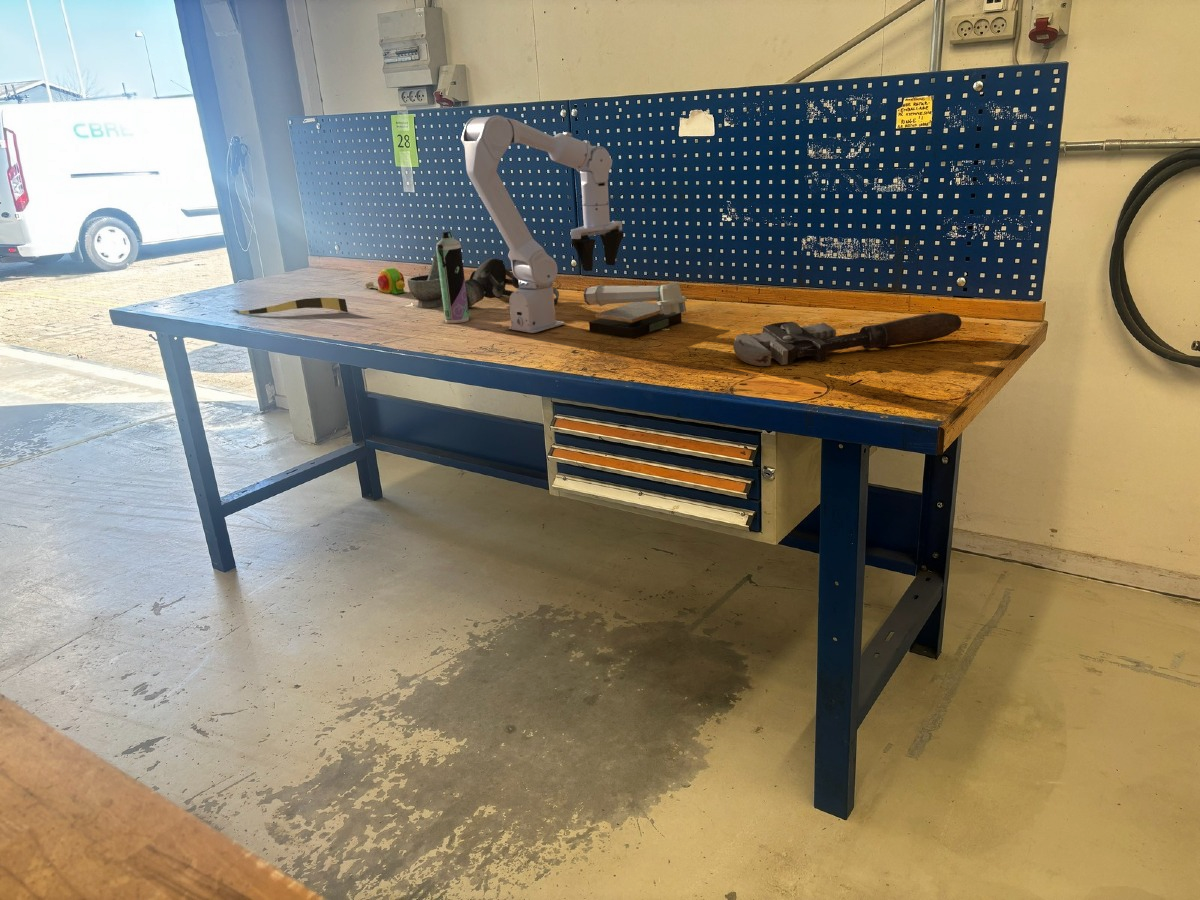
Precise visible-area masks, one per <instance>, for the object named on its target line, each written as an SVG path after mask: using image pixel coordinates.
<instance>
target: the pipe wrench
mask: <svg viewBox="0 0 1200 900" xmlns="http://www.w3.org/2000/svg"><path fill="white" fill-rule="evenodd" d="M962 321H963V320H962V318H961V317H960V316H959V315H958V314H953V313H948V312H933V313H931V312H930V313H923V314H919V315H914V316H908V317H904V318H899V319H894V320H890V321H886V322H882V323H878V324H877V323H876V324H871V325H865V326H862V327H861V328H860V330H859V331H858V332H857V331H856V332H852V333H846V334H840V335H837V330H836V329H835V328H833V327H832V326H831V325H829V324H827V323H825V322H821V323H815V324H808V325H802V326H801V325H799V324H798V323H797V322H794V321H783V322H774V323H771V324H766V325H763V326H762V332H758V333H751V334H749V333H747V332H745V333H741V334H739V335H737V336H736V337H735V339H734V342H733V346H732V347H733V351H734V353H735V355H736V357H737V358H738V359H739V360H740V361H742V362H743V363H746V364H749V365H752V366H756V367H769V366H771V363H772V359H773V360H775V361H776V362H777V363H779V364H780V365H781V366H785V365H791V363H793V362H794V361H795V359H799V358H803V357H809V358H812V359H813V360H815V361H817V362H822V361H826V359H827V353H831V352H835V351H841V350H848V349H852V348H859V347H862V348H863V349H864V350H871V349H877V348H883V347H892V346H893V347H894V346H901V345H909V344H916V343H922V342H930V341H934V340H937V339H941V338H944V337H948V336H949V335H951V334H954V333H955V332H956V331H959V330H960V329H961V327H962V325H963V323H962Z"/></svg>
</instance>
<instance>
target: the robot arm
mask: <svg viewBox="0 0 1200 900" xmlns="http://www.w3.org/2000/svg"><path fill="white" fill-rule="evenodd" d="M572 135H573V134H572V133H571V132H568V131H563V132H559V133H557V134H555V135H554V136H553V135H551V134H548V133H546V132H544V131H542V130H539V129H537V128H534V127H532V126H530V125H528V124H525V123H523V122H521V121H520V120H519V121H518V120H516V119H514V118H509V117H504V116H502V115H498V114H495V115H492V116H491V115H490V116H482V117H481V116H474V117H471V118H470V119H469V120H467V122H466V123H465V126H464V128H463V131H462V135H461V138H460V141H461V143H462V145H463V147H464V157H465V158H464V159H465V169H466V173H467V176H468V179H469V180H470V182H471V184H472V185H473V187H474V189H475V190H476V193H477V194H478V197H480V199H481V201H482V203H483V204H484V206H485V208H486V210H487V212H488V213H489V215H490V217H491V219H492V221H493V223H494V224H495V226H496V228H497V230H498V231H499V233H500V235H501V237H502V238H503V240H504V242H505V244H506V246H507V248H508V249H509V251H508V254H507V257H508V259H509V261H510V265H511V270H512V271H511V272H512V273H513V274H514V276H515V277H516V278H517V279H518V282H519V288H517V290H515V291H514V292H513V293H512V294H511V295H510V296H509V300H508V305H509V314H510V315H509V316H510V324H511V326H509V327H508V329H509V330H512V331H517V332H524V333H529V334H530V333H531V334H536V333H539V332H543V331H547V330H549V329H553V328H557V327H559V326H563V325H565V321H560V320H556V308H555V304H554V299H555V296H554V295H555V294H554V293H553V287H554V282H555V281H556V279H557V277H558V271H559V269H558V268H559V267H558V264H557V262H556V260H555V259H554V258H553V257H552V256H550V255H549V254H547V252H546V250H545V249H544V247H543V246H541V245H540V244H539V243H538V242H537V241H536V240H535V239H534V238H533V236H532V234H531V232H530V230H529V228H528V227H527V225H526V223H525V221H524V219H523V217H522V216H521V214H520V212H519V210H518V209H517V207H516V205H515V203H514V200H513V199H512V198H511V195H510V194H509V192H508V189H506V187H505V185H504V182H503V181H502V179H501V178H500V175H499V173H498V171H497V170H498V167H499V165H500V161H501V159H502V158H503V156H504V154H505V153H506V151H507V150H508V148H509V146H511V144H517V143H519V144H521V145H524V146H527V147H530V148H533V149H537V150H540V151H543V152H545V153H547V155H548V156H549V158H550V160H551V161H553V162H555V163H558V164H561V165H562V166H563V165H564V166H566V167H570V168H572V169H574V170H576V171H577V173H578V174H580V186H581V187H580V188H581V201H582V202H581V203H582V217H583V218H582V219H583V225H582V226H579V227H575V228H572V229H570V236H571V238H570V243H571V244H572V246H573V247H574V249H575V251H576V253H577V255H578V257H579V260H580V263H581V266H582V270H583V271H585V272H592V271H593V267H594V248H595V244H596V239H594V238H590V237H592V236H597V235H599V236H600V239H601V242H602V245H603V246H602V247H603V251H604V261H605V263H606V264H605V265H606V266H615V265H616V262H617V256H618V251H619V247H620V245H621V242H622V240H623V238H624V235H625V234H624V233H625V232H624V231H623V221H622V220H621V221H620V220H613V221H610V199H609V181H608V180H609V179H610V178H609V173H610V170H611V168H612V166H613V158H611V156H610V152H609V151H607V148H605V147H604V146H601V145H592V144H591V142H590V141H589V140H586V139H584V140H583V141H582V140H581V139H578V138H575V137H573V136H572Z"/></svg>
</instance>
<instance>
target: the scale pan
mask: <svg viewBox="0 0 1200 900" xmlns="http://www.w3.org/2000/svg"><path fill="white" fill-rule="evenodd" d="M658 314H660V307H659V305H657V302H650V301H643V302H630V303H628V304H627V303H626V304H624V305H621V306H617V307H614V308H611V309H607V310H605V311H601V312H597V313H595V314H594V315H595V318H596V319H601V318H602V319H609V320H616V321H623V322H630V323H633V322H636V321H639V320H642V319H645V318H649V317H652V316H655V315H658Z"/></svg>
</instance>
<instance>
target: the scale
mask: <svg viewBox="0 0 1200 900" xmlns="http://www.w3.org/2000/svg"><path fill="white" fill-rule="evenodd" d="M681 322H682V312H681V313H676V312H671V314H666V315H664V313H663V314H658V315H655V316H652V317H649V318H645V319H642V320H639V321H636V322H633V323H630V322H623V321H616V320H609V319H602V318H597V319H595V320H592V321H589V322H588V325H589V326H588V327H589V332H591V333H598V334H605V335H611V336H617V337H624V338H629V339H634V338H638V337H641V336H645V335H647V334H650V333H653V332H656V331H658V330H662V329H665V328H668V327H670V326H673V325H676V324H679V323H681Z"/></svg>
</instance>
